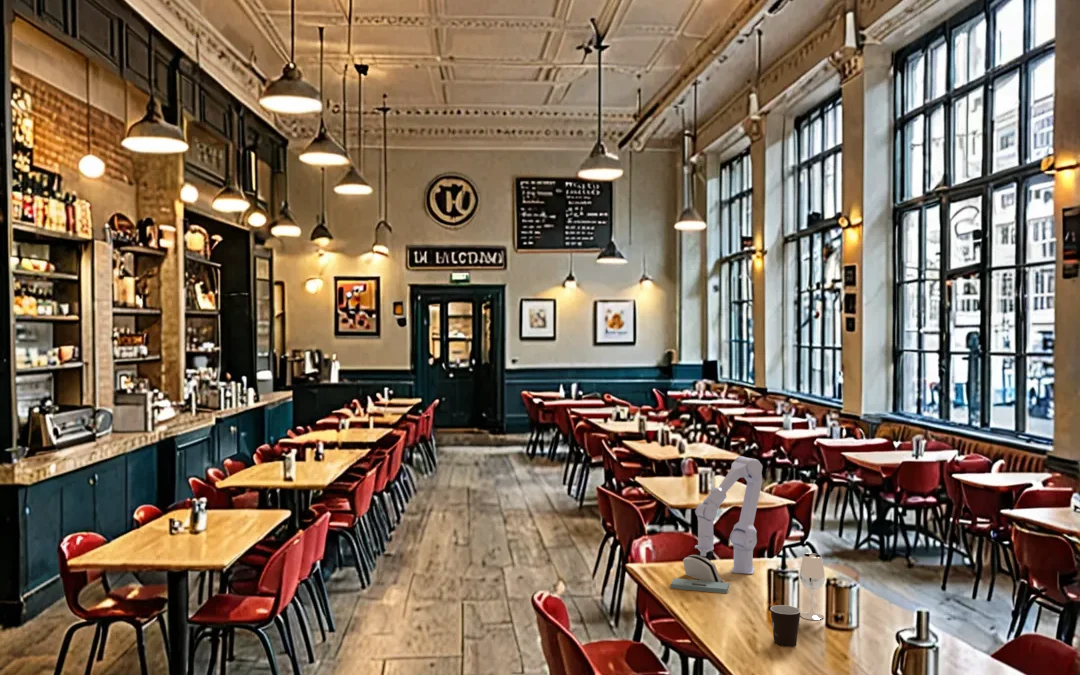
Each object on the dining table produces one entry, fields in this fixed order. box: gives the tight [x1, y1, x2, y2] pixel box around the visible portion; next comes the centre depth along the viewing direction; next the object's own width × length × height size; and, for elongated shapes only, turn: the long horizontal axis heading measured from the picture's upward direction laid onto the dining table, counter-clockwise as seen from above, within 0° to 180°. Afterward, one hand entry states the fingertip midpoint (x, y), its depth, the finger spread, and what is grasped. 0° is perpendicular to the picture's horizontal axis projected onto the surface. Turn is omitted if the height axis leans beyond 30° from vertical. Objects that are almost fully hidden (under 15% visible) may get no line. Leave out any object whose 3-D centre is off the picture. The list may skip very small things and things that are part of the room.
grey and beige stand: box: [682, 554, 725, 583], centre depth 326 cm, size 17×5×10 cm, turn 29°
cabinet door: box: [670, 577, 730, 594], centre depth 315 cm, size 8×20×2 cm, turn 72°
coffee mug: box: [770, 604, 802, 648], centre depth 260 cm, size 12×9×10 cm
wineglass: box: [799, 552, 826, 621], centre depth 283 cm, size 8×8×20 cm
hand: (705, 570), depth 331 cm, fingers closed
